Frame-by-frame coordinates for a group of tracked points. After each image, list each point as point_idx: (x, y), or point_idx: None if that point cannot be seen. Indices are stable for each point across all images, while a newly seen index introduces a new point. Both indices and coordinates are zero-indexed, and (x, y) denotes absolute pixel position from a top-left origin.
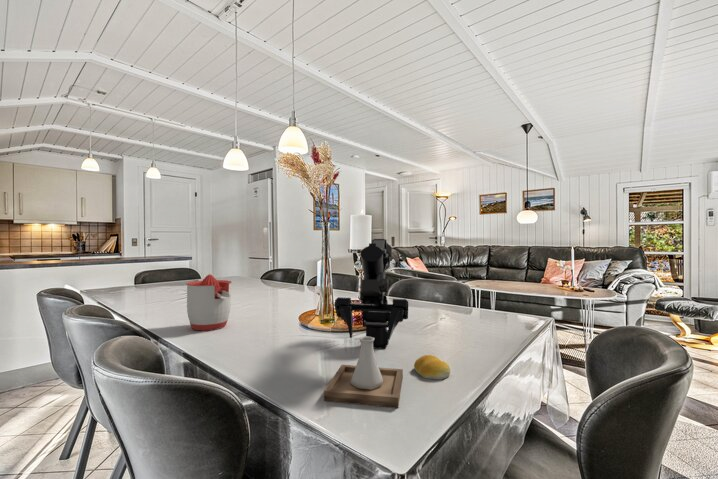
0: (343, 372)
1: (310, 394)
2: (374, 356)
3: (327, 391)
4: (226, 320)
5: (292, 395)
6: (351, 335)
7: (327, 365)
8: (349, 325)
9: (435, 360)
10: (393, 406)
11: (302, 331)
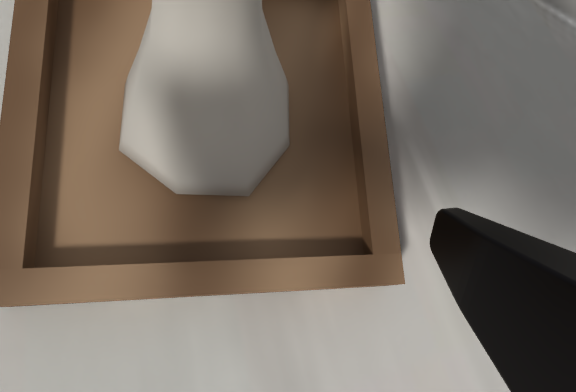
0: (362, 213)
1: (421, 38)
2: (148, 38)
3: None
4: None
5: (477, 23)
6: (443, 222)
7: (497, 376)
8: (567, 261)
9: None
10: None
11: None
